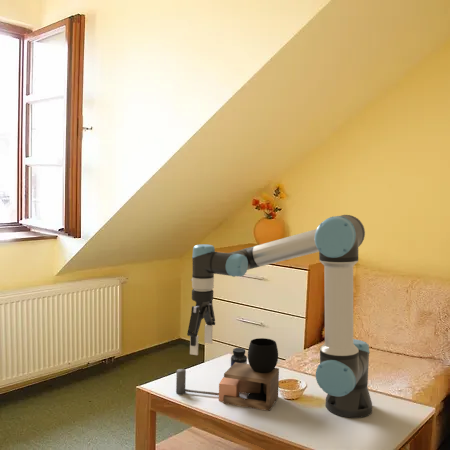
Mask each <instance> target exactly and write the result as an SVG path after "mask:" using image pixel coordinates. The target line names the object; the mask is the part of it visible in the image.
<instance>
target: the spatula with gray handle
mask: <svg viewBox="0 0 450 450" xmlns="http://www.w3.org/2000/svg"><path fill="white" fill-rule="evenodd" d="M186 374H187V373H186V369H184V368H179V369H177V370H176V375H175V377H176V378H175V381H176V382H175V383H176V384H175V386H176V387H175V388H176V391H175V393H176V395H185V394H186V393H195V394H203V395H211V396H218V401H219V402H223V401H224V395H228V396H234V397H240V394H241V392H240V380H238V379H232V378H225V377H224V376H223V377H222V378H221V380H220V382H219V384H218V392H213V391H205V390H204V391H203V390H196V389H195V390H194V389H187V388H186Z"/></svg>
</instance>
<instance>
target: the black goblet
mask: <svg viewBox="0 0 450 450" xmlns="http://www.w3.org/2000/svg"><path fill="white" fill-rule="evenodd" d="M278 360H279V350H278V344H277V341H276V340H274V339H272V338H271V339H270V338H264V337H262V338H259V337H258V338H254V339H251V340H250V343H249V346H248V349H247V362H248V364H250V366H251V368H252V369H253V370H254V371H255V372H258V373H269V372H271V371H272V370H273V369H274V368H277V364H278ZM246 399H252V400H259V401H265V402H266V394H264V383H261V390H260V393H250V394H247V396H246ZM277 399H278V398H277ZM277 399H276V400H275V403H276V402H277Z"/></svg>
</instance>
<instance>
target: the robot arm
mask: <svg viewBox="0 0 450 450" xmlns="http://www.w3.org/2000/svg"><path fill="white" fill-rule="evenodd" d="M365 235H366V231H365V226H364V225H363V223H362V221H361V220H360V219H359V218H357V217H356V216H353V215H350V214H341V215H337V216H336V215H335V216H334V215H333V216H330V217H328V218H325V220H323V221H322V222H321V223H320V224H319V225H318V226H317V228H315V229H312V230H308V231H304V232H301V233H297V234H294V235H290V236H287V237H283V238H280V239H276V240H275V239H274V240H272V241H268V242H265V243H260V244H257V245H254V246H251V247H245V248H243V249H239V250H235V251H231V252H220V251H216V250H215V246H214V245H212V244H206V243H205V244H201V243H200V244H196V245H194V246H193V248H192V257H191V258H192V261H191V262H192V274H191V276H192V277H191V279H190V281H191V288H192V290H191V300H192V302H195V306H194V305H192V306H191V313H190V318H189V324H188V329H187V336H188V337H189V355H194V356H198V355H199V330H200V327H201V323H202V320H203V319H204V322H205V325H204V344H213V326H216V318H215V310H214V306H213V300H214V290H213V289H214V286H215V285H214V282H215V276H214V275H221V276H222V275H223V276H230V277H233V278H235V277H240V278H241V277H244V276H245V275H246V273H247V272H248V271H249V270H252V269H256V268H260V267H264V266H268V265H272V264H275V263H280V262H283V261H287V260H292V259H296V258H299V257H303V256H307V255H308V256H309V255H311V254H316V253H318V254H319V257H318V260H319V262H320V264H322V265H323V268H324V269H323V272H324V274H323V275H324V280H323V281H324V342H323V343H322V345H320V347H319V364H318V365H317V368H316V371H315V380H316V384H317V385H318V386H319V388H320V389H321V390H322V391H323V392H325V393H326V397H325V408H326V409H327V410H328V411H329V412H330V413H332V414H335V415H337V416H341V417H345V418H351V419H352V418H354V419H355V418H365V417H367V416H369V415H371V414H372V412H373V402H372V398H371V395H370V391H369V387H368V384H369V383H368V382H369V381H368V380H369V366H370V365H369V360H370V353H371V352H370V345H369V344H368V343H367V342H366V341H364V340H361V339H356V338H354V266H355V265H356V264H357V263H358V262H359V247H361V245H362V244H363V242H364V240H365V238H366V237H365Z"/></svg>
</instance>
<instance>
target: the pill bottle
mask: <svg viewBox="0 0 450 450" xmlns="http://www.w3.org/2000/svg"><path fill="white" fill-rule="evenodd" d="M245 354H246V349H245V348H242V347H235V348H233V349H232V355H231V356H230V367H231V366H232V365H233V364H234V363H235V362H236V363H244V364H248V356H247V355H245Z"/></svg>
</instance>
